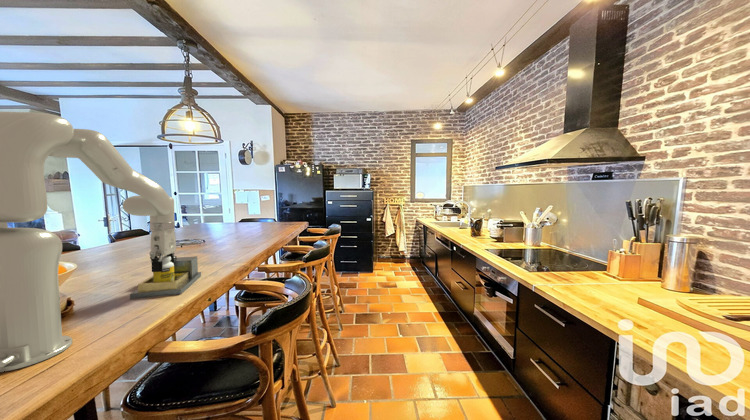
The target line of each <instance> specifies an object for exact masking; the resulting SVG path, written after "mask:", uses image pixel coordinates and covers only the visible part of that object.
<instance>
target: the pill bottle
mask: <svg viewBox="0 0 750 420" xmlns="http://www.w3.org/2000/svg"><path fill="white" fill-rule="evenodd" d="M157 257H158V258H159V256H157ZM170 260H171V257H170V256H165V255H163V257H162V259H161V261H162V267H163V271H161V272H152V273H153V274H152V276H153V278H154V283H155V282H168V281H174V264H173V263H172V262H170Z"/></svg>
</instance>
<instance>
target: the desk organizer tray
mask: <svg viewBox="0 0 750 420" xmlns="http://www.w3.org/2000/svg"><path fill="white" fill-rule="evenodd" d="M200 278H202V272H201V271H199V266H198V256H184V257H181V256H180V257H178V256H177V255H174V281H168V282H155V283H154V278H153V275H152V276H150V277H148V278H147V279H145V280H143V281H142V282H140V283H138V284H137V289H135V290H134V291H132V292H130V293H129V300H134V299H135V300H136V299H146V298H155V297H166V296H167V297H169V296H177V295H178V296H179V295H182V294H183V293H184V292H186V290H188V289H189V288H190V287H191V286H192V285H193V284H194V283H195V282H197V281H198V280H199V279H200Z"/></svg>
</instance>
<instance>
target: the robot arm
mask: <svg viewBox="0 0 750 420" xmlns="http://www.w3.org/2000/svg"><path fill="white" fill-rule="evenodd" d="M48 157H55V158H65V159H66V158H67V159H68V158H69V159H70V158H72V159H78V160H80V161H81V162H82V163H83V164H84V165H85V166H86V167H87V168H88V169H89V170H90V171H91V172H92V173H93V174H94V176H96V177H97V178H98V179H99V180H100V181H101V182H102V183H103V184H105V185H108V186H111V187H114V188H117V189H120V190H124V191H126V192H131V193H133V194H136V195H132V196H129V197H127V198H126V199H124V201H123V203H122V209H123V210H124V211H123V212H125V213H127V214H129V215H131V216H139V217H143V216H144V217H147V216H149V232H151V236H150V252H149V258H150V263H151V272H152V273H153V272H161V271H163V267H162V261H161V259H162V257H163V256H170V257H171V260H170V262H172V263H173V264H174V256H175V252H176V251H177V240H176V232H175V229H176V228H175V221H176V220H175V199H174V198H173V197H172V196H169V194H168V193H167V192H166V190H165V189H164V188H163V187H162V186H161V185H159V184H158V183H157V182H155V181H154V180H152V179H151V178H149V177H147V176H145V175H143V174H142V173H140V172H138V171H136V170H134V169H133V168H132V166H131V165H130V163H128V161H127V160H125V158H124V157H123V156H122V154H121V153H120V152H119V151H118V149H116V147H115V146H114V145H113V143H112V142H111V141H110V140H109V139H108V138H107V137H106V136H105V135H104V134H103V133H101V132H99V131H97V130H93V129H85V128H74V127H73V125H72V124H71V122H70V121H69V120H67V119H66V118H64V117H61V116H59V115H57V114H52V113H51V114H50V113H46V112H33V111H19V112H18V111H0V373H4V371H5V372H9V371H14V370H18V369H22V368H25V367H29V366H31V365H34V364H38V363H40V362H43V361H46V360H48V359H50V358H52V357H55V356H56V355H59V354H61V353H62V352H64V351H66V350H67V349H68V348H69V347H70V346H71V345H72V344H73V338H72V336H69V335H63V329H62V328H63V327H62V314H61V313H62V312H61V298H60V297H61V296H60V286H59V267H60V260H61V257H62V253H63V241H62V239H61V238H60V236H58V235H57V234H56V233H54V232H52V231H49V230H46V229H43V228H37V227H9V226H8V223H10V224H12V223H28V222H32V221H33V222H34V221H37V220H39V219H41V218H42V217H44V216H45V215H46V214H47V211H48V206H49V205H48V196H47V189H46V180H45V163H46V161H47V159H48ZM158 257H159V258H158Z"/></svg>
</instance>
